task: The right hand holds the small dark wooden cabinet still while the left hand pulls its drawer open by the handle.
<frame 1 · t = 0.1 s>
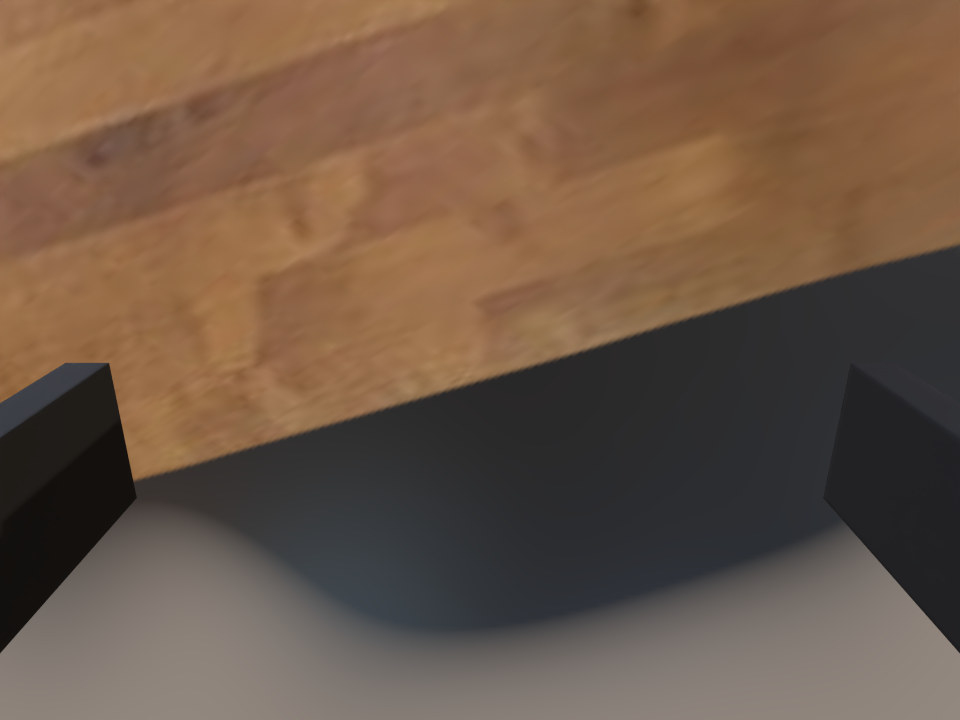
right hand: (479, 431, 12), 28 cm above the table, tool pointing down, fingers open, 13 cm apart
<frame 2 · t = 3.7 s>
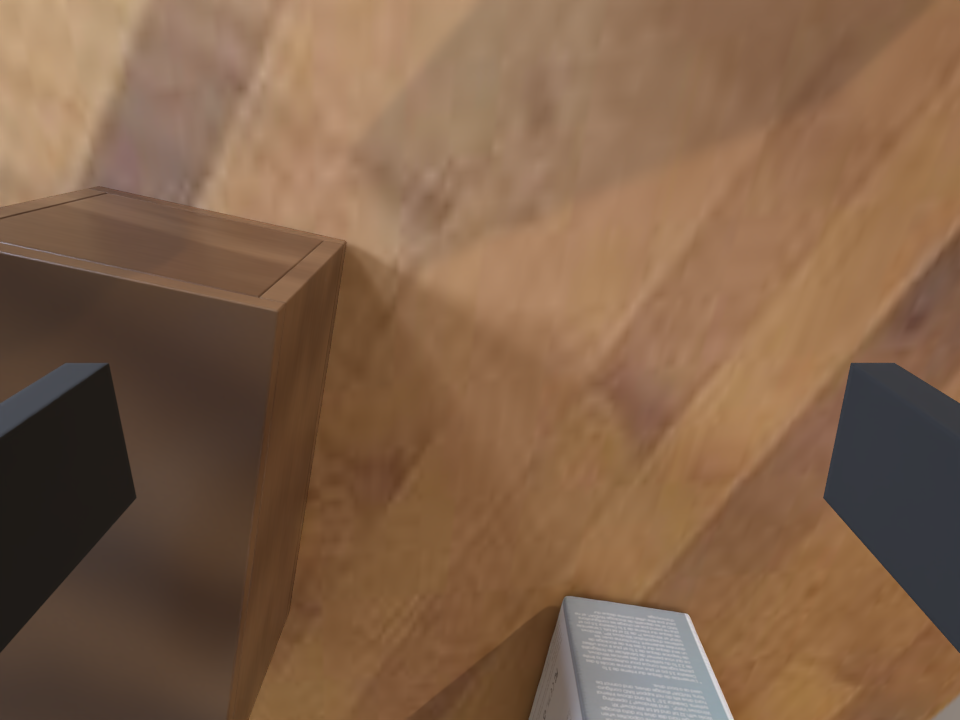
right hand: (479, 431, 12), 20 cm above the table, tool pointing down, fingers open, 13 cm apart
hard drive box: (594, 700, 41), on the table
cabinet: (205, 424, 34), on the table
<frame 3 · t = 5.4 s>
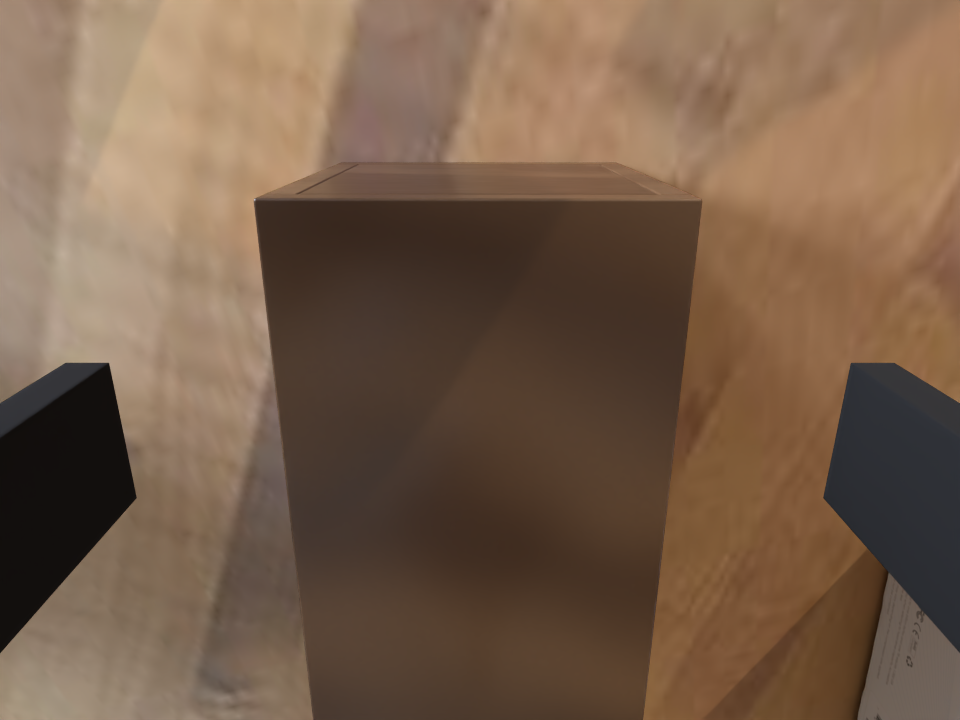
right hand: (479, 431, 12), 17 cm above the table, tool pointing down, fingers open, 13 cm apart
hard drive box: (939, 638, 36), on the table
cabinet: (478, 407, 31), on the table
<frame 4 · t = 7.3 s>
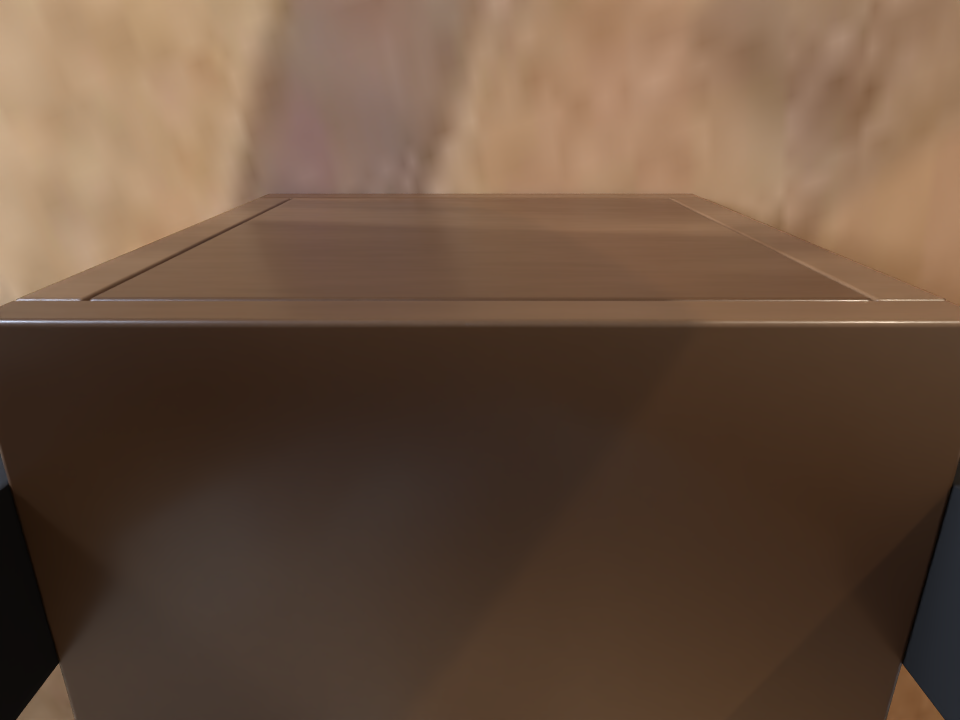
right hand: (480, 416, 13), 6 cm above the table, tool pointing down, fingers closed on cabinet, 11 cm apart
cabinet: (480, 541, 21), on the table, touching right hand
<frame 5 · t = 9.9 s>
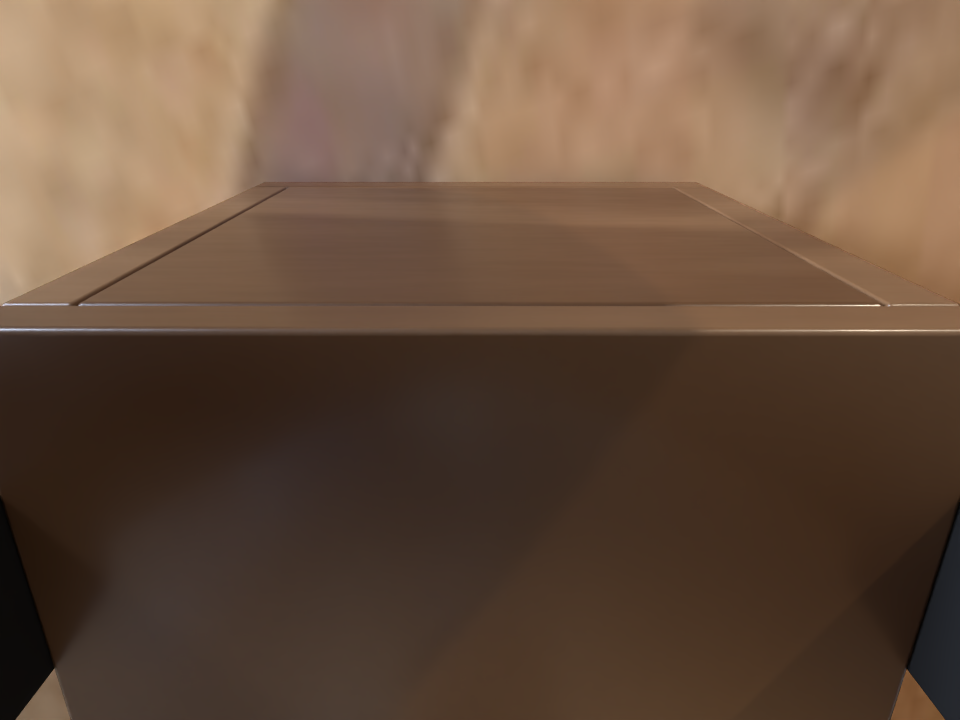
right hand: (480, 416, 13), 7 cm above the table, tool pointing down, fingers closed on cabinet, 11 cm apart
cabinet: (480, 531, 21), on the table, touching right hand
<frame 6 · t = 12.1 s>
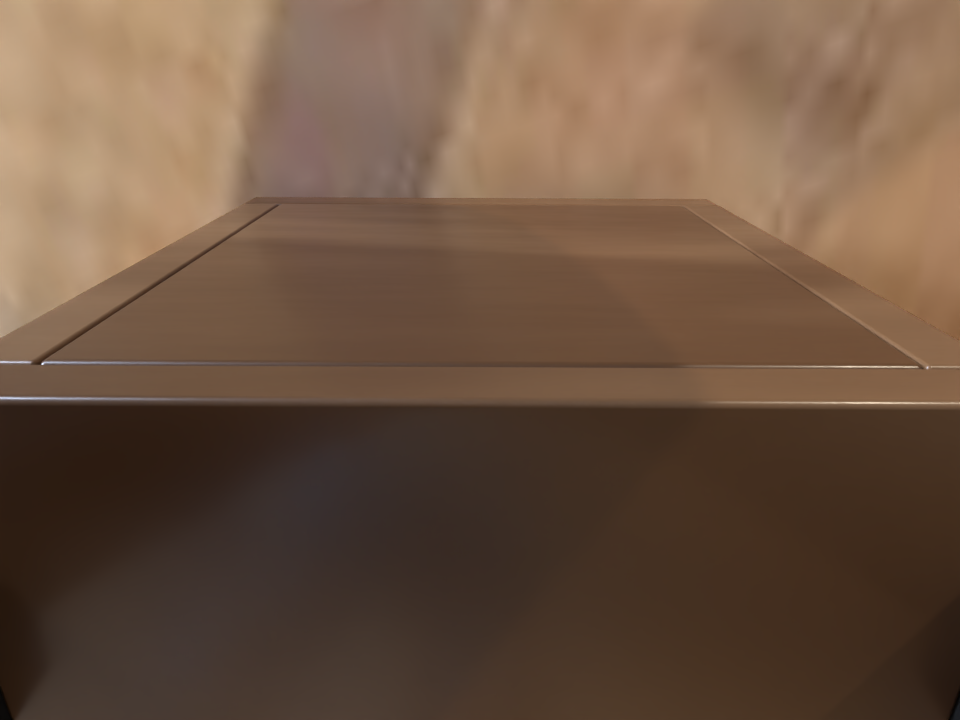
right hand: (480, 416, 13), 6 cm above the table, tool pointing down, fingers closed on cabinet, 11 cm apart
cabinet: (479, 553, 21), point 1 cm above the table, touching right hand
when the right hand's fingers open (6 cm above the table, at t = 13.7 s): cabinet stays where it is, on the table.
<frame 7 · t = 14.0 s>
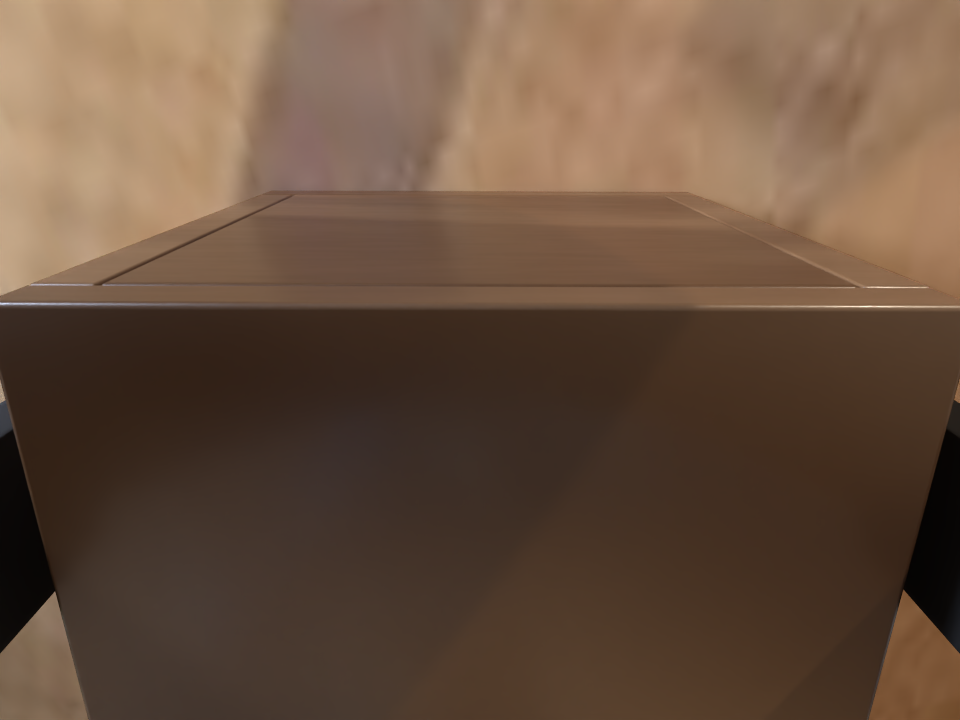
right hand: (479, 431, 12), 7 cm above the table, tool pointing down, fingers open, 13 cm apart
cabinet: (478, 536, 22), on the table
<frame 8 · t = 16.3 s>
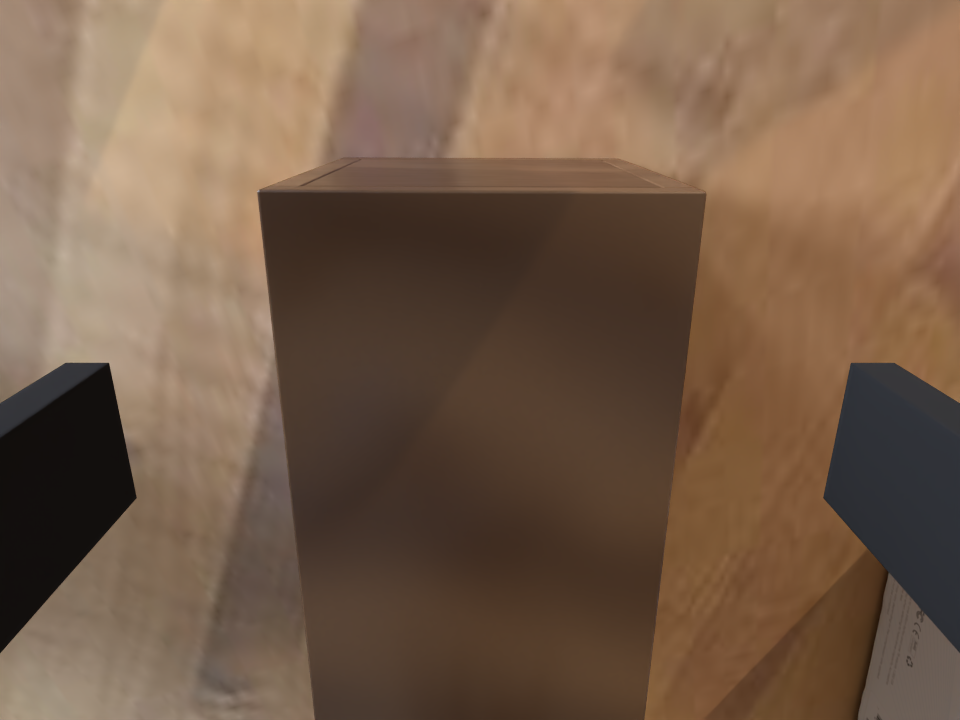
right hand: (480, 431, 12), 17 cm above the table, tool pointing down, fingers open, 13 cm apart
hard drive box: (939, 638, 36), on the table
cabinet: (480, 403, 31), on the table
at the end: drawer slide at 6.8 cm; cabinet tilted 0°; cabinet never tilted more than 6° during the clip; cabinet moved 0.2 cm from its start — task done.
